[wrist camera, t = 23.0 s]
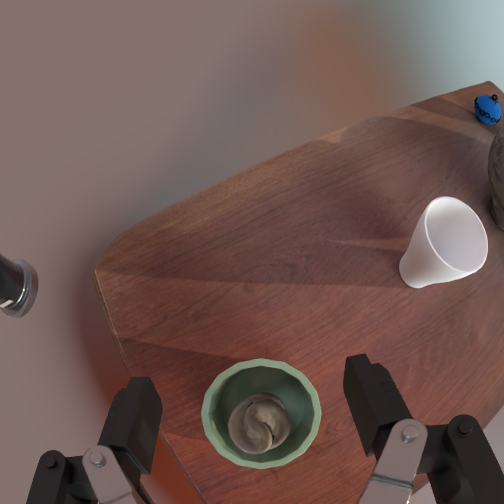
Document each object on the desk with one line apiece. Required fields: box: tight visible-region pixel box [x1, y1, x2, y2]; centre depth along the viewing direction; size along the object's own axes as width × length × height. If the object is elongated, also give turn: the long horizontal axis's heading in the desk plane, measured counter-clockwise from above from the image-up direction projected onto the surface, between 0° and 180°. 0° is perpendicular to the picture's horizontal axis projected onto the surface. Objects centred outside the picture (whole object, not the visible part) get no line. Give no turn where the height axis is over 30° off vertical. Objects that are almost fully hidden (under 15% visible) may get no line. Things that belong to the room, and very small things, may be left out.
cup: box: [399, 196, 488, 288], centre depth 36 cm, size 10×10×14 cm
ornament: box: [474, 94, 501, 125], centre depth 52 cm, size 9×9×10 cm
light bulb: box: [228, 392, 290, 454], centre depth 29 cm, size 6×6×15 cm
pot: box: [201, 358, 322, 469], centre depth 32 cm, size 13×13×9 cm
